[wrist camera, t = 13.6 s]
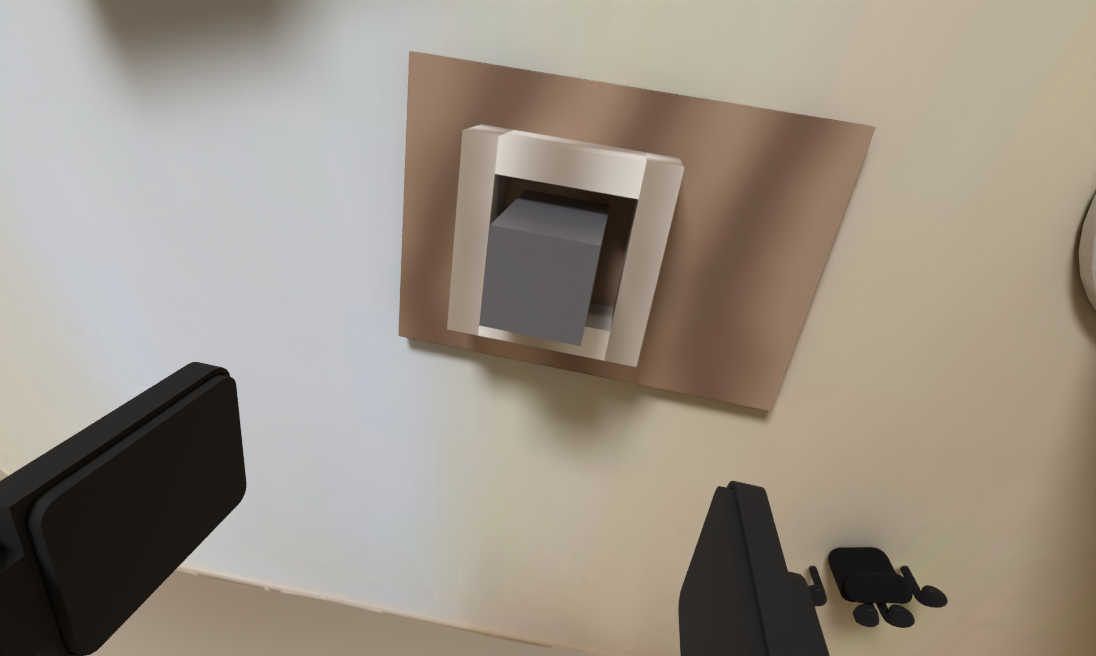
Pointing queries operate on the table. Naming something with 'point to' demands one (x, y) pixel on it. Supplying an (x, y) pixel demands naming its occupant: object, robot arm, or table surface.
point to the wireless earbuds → (874, 586)
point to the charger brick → (543, 266)
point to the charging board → (627, 220)
